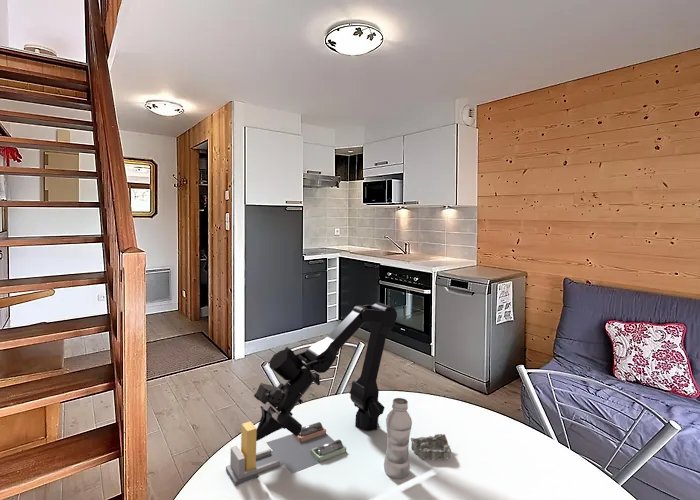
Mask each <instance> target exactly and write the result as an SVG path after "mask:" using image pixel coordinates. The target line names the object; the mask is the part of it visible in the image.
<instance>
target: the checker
mask: <svg viewBox="0 0 700 500" xmlns="http://www.w3.org/2000/svg"><path fill="white" fill-rule="evenodd" d="M322 427H323V430H321V431H318V432H315V433H312V434H309V435H306V436H303V437H300V436H299V435H298V436H297V437H296V436H295V435H294V434H293V433H291V434H288V435H285V436H282V437H279V438H276V439H272V440H269V441H266V442H265V444H266V445H268V447H269V449H265V450H263V451H260V452H256V468H254V469H251V470H248V471H245V457H244V455H243V453H242V452H241V448H239V447H238V446H237V445H234V446H232V447H230V459H229V460H230V463H229V464H227V465H226V466H225V471H226V472H227V474H228V476H229V478H230V479H231V481H232V483H233V485H234V486H239V485H242V484H244V483H247V482H250V481H253V480H254V479H257V478H260V475H259V474H262V473H265V472H268V471H270V470H273V469H275V468H279V467H281V466H285V467H286V469H288V471H289V472H290V474H294V473H297V472H300V471H303V470H305V469H308V468H310V467H313V466H315V465H318V464H320V463H323V462H326V461H329V460H330V459H331V460H332V459H334V458H336V457H339V456H342V455H345V454H347V453H348V451H347V447H346V446H345V445H344V444H343V448H341V449H339V450H336V451H333V452H331V453H328V454H325V455H323V456H320V457H319V456H318V453H317V447H319V446H322V445H324V444H327V443H330V442H333V441H335V440H334V439H333V438H332V437H331V436H330V435H329V434H327V429H326V428H325V427H324V426H323V425H322Z"/></svg>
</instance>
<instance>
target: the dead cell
mask: <svg viewBox="0 0 700 500" xmlns="http://www.w3.org/2000/svg"><path fill="white" fill-rule="evenodd" d="M322 426H323V424H322V422H321V421H318V422H315V423H312V424H309V425H305V426H302V431H301V432H300V434H299V436H300V437H303V436H306V435H309V434H312V433H315V432H318V431H321V430H323V427H324V426H323V427H322Z"/></svg>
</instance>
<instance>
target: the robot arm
mask: <svg viewBox="0 0 700 500" xmlns="http://www.w3.org/2000/svg"><path fill="white" fill-rule="evenodd" d="M397 317H398V312H397V310H396V308H395V307H393V306H390V305H387V304H384V303H382V302H375V303H374V304H365V305H355V306H354V307H353V308H352V309H351V312H350V313H349V314H348V315H347V316H346V317H345V318H344V319H343V320H342V321H341V322H340V323H339V324H338V325H337V326H336V327H335V328H334V329H333V330H332V331H331V333H329V335H327V336H326V337H325V338H324V339H321V340H319V341H317V342H315V343H313V344H312V345H311V346H310V347H308V348H307V349H306V350H305V351H302V352H300V353H296V354H295V352H294V350H292V349H291V348H289V347H288V346H286V347H285V348H284V349H282V350H279V351H277V352H276V353H274V354H273V356H272V357H271V358H270V361H269V364H268V365H269V368H270V369H271V370H272V371H273V372H275V373H276V375H278V376H280V377H281V378H282V379H283V380H284V381H286V382H285V383H284V384H283V382H281V383H280V384H278V385H277V386H274V385H272V384H267V383H263V382H260V384H259V386H258V388H257V391H256V392H255V394H254V395H253V397H254V398H256V400H257V401H259V402H261V403H262V404H264V405H263V406H262V405H260V409H261V417H260V420H259V423H258V425H257V426H256V428H257V433H256V442H258V441H260V440H262V439H264V438H265V437H267V436H269V435H271V434H273V433H275V432H277V431H279V430H281V429H284V430H287V431H288V432H289V433H291V434H294V435H295V436H296V437H297V436H298V435H299V434H300V432H301V431H302V427H303V424H301V423H300V422H299V421H298V420H297V419H296V418H295V417H294V416H293V415H294V414H293V412H292V410H293V409H294V408H295V406H296V405H297V404H298V403H299V404H300V405H301V404H302V403H303V402H304V400H303V399H302V398H303V396H304V395H305V394H306V392H307V391H308V390H309V388H310V387H311V386H312V384H316V385H317V386H320V384H321V380H320V374H324V373H326V372H328V371H329V369H330V368H331V367H332V365H333V364H334V362H335V361H336V358H337V355H338V353H339V351H340V349H341V348H342V347H343V346H344V345H346V343H347V342H348V341H349V340H350V338H351V337H352V336H353V335H354V334H356V332H357V331H358V330H359V329H360V328H361V327H362V326H363V325H364V324H365V323H366V322H368V324H369V329H370V333H369V339H368V342H367V346H366V350H365V356H364V359H363V360H364V361H363V365H362V369H361V374H360V376H359V378H358V379H357V380H352V381H351V387H350V391H349V392H348V393H349V395H350V396H349V398H350V400H351V402H353V404H354V407H356V408H358V409H357V411H356V414H355V423H354V424H355V425H354V427H355V428H357V429H359V430H362V431H365V432H373V431H378V428H379V425H380V424H379V417H380V416H381V415H383V413H384V411H385V409H386V407H385V406H384V405H383V404H382V403H381V402H380V401H379V394H380V393H379V391H380V390H379V387H378V382H377V379H378V373H379V370H380V366H381V360H382V356H383V352H384V348H385V343H386V339H387V337H388V336H387V335H388V334H389V333H390V332H391V331H392V329H394V326H395V324H396V321H397ZM303 367H304V368H303ZM313 371H314V372H313Z"/></svg>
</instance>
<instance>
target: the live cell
mask: <svg viewBox="0 0 700 500" xmlns="http://www.w3.org/2000/svg"><path fill="white" fill-rule="evenodd" d="M343 445H344V444H343V442H342V440H341V439H336V440H334V441H333V442H330V443H327V444H324V445H322V446H319V447H317V453H318V456H319V457H320V456H323V455H325V454H328V453H331V452H333V451H336V450H339V449H341V448H343Z"/></svg>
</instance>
